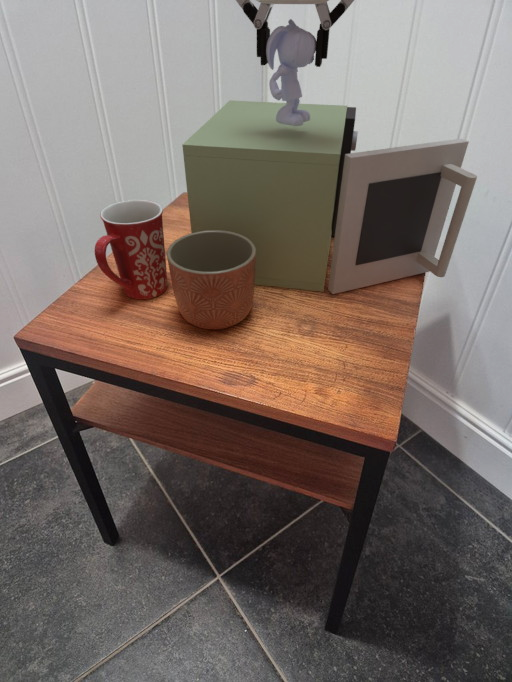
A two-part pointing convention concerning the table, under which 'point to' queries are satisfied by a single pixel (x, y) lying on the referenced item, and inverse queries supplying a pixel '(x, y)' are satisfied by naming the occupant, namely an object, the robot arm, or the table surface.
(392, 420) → the table surface
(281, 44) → the toy figurine
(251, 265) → the planter
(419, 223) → the microwave door
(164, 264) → the mug
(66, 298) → the table surface
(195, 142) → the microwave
